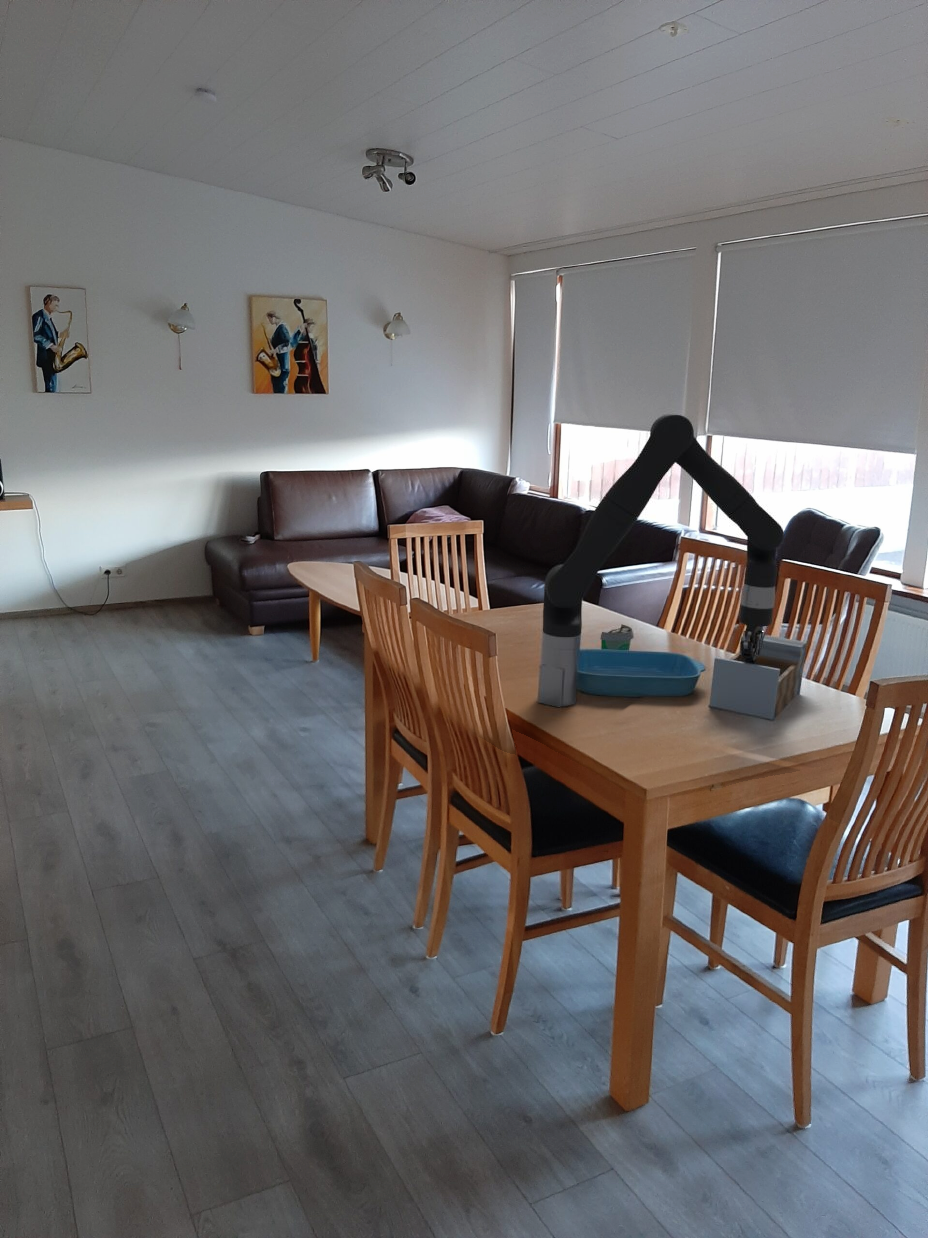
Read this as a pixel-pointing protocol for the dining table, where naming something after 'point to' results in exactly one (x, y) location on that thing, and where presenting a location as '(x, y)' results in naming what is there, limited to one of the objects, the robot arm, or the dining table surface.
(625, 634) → the food container
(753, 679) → the panel
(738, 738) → the dining table surface
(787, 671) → the box
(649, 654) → the casserole dish
